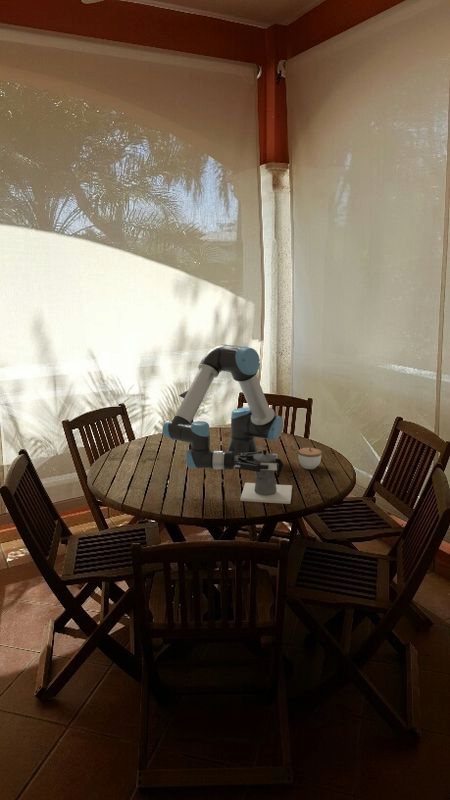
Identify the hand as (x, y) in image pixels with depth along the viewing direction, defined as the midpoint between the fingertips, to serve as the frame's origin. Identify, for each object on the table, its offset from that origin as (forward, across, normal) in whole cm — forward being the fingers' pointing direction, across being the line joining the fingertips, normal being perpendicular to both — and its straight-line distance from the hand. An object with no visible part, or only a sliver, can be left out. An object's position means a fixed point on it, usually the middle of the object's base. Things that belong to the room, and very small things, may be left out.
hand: (277, 462), depth 254 cm
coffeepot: (-4, +1, -13) cm, 13 cm away
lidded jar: (+14, -36, -14) cm, 41 cm away
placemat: (-4, +1, -14) cm, 14 cm away
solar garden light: (-44, -54, -14) cm, 71 cm away
